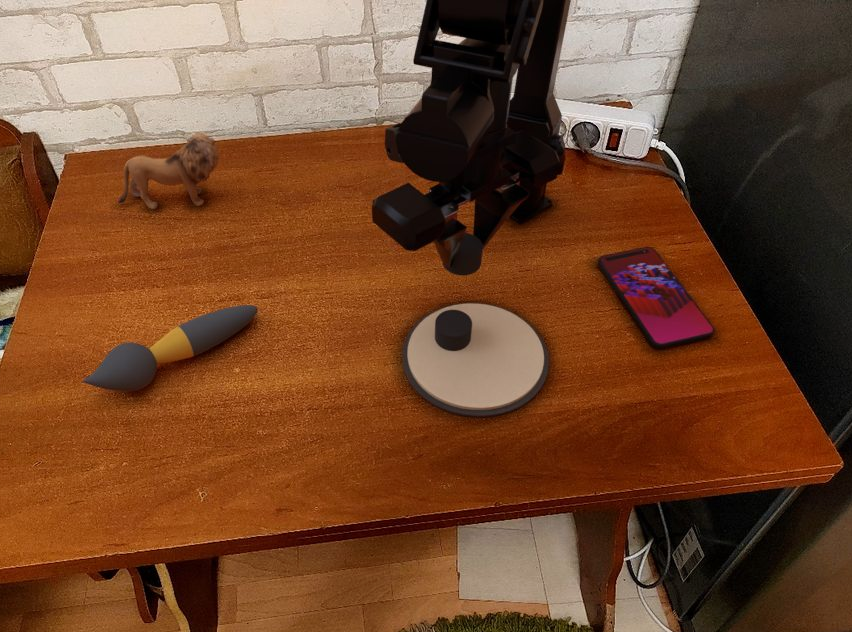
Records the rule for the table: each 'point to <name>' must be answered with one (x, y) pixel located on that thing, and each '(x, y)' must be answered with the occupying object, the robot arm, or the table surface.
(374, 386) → the table surface
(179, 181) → the lion figurine
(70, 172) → the table surface
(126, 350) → the paintbrush
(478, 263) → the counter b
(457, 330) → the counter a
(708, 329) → the smartphone
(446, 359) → the face circle
